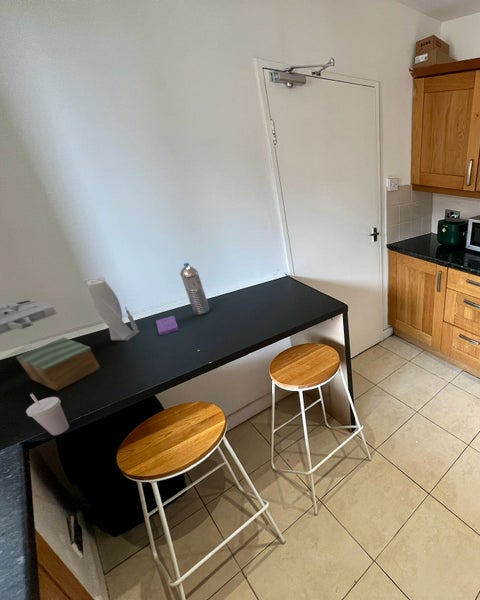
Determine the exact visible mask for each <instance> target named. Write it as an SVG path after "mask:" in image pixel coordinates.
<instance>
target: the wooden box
mask: <svg viewBox="0 0 480 600" xmlns="http://www.w3.org/2000/svg"><path fill="white" fill-rule="evenodd" d="M17 361H18V362H19V363H20V365H21V366H22V369H24V371H25V372H26V373H27V375H28V377H29V378H30V380H32V381H34V382H36V383H39V384H40V385H42V386H44V387H48V388H50V389H51V390H54V391H56V392H59V391H60V390H62V389H63V388H65V387H68V386H69V385H71V384H73V383H75V382H77V381H79V380H81V379H83V378H85V377H87V376H88V375H90V374H93V373H94V372H97V371H99V370H100V369H101V368H102V367H101V366H100V364H99V361H98V360H97V359H96V357H95V355H94V353H93V351H92V348H91V349H90V350H88V351H86V352H84V353H81V354H79V355H77V356H75V357H73V358H71V359H68V360H66V361H64V362H62V363H60V364H58V365H56V366H53V367H51V368H49V369H47V370H45V371H44V370H42V369H39V368H37V367H35V366H32V365H30V364H28V363H26V362H23V361H21V360H19V359H17Z"/></svg>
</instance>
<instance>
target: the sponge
mask: <svg viewBox="0 0 480 600" xmlns="http://www.w3.org/2000/svg"><path fill="white" fill-rule="evenodd" d="M155 322H156V327H157V331H158V334H159V336H163V335H167V334H170V333H173V332H177V331H179V329H180V328H179V326H178V323H177V320H176V317H175V316H174V315H171V316H168V317H164V318H161V319H156V320H155Z"/></svg>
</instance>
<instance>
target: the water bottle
mask: <svg viewBox="0 0 480 600" xmlns="http://www.w3.org/2000/svg"><path fill="white" fill-rule="evenodd" d="M179 274H180V277H181V280H182V282H183V285H184V288H185V291H186V295H187V299H188V301H189V304H190V307H191V310H192V312H193V314H194V315H196V316H203V315H207V314H208V313H209V312H210V311H211V308H210V305H209V303H208V299H207V296H206V292H205V289H204V286H203V285H202V282H201V278H200V275H199V270H198V269H196V267H193V266H190V263H189V262H184V263H183V268H182V269H181V271H180V273H179Z"/></svg>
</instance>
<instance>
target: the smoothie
mask: <svg viewBox="0 0 480 600" xmlns="http://www.w3.org/2000/svg"><path fill="white" fill-rule="evenodd" d="M29 396H30V397H31V399H32V400H33V401H34V403H32V404H31V405H29V407H27V408H26V411H25V413H26V414H27V417H31V418H32V419H34V421H36V422H37V423H38V424H39V425H40V426H42V428H43V429H45V430H46V431H47V432H48V433H49V434H50V435H52V436H58V435H60V434H64V433H65V432H66V431H67V430H68V429H69V428H70V425H69V422H68V420H67V417H66V415H65V412H64V410H63V408H62V405H61V403H62V402H61V399H60V398H59V397H57V396H50V397H45V398H42V399H40V400H38V399H37V397H36V396H35V395H34V394H33V393H30V394H29Z"/></svg>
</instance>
